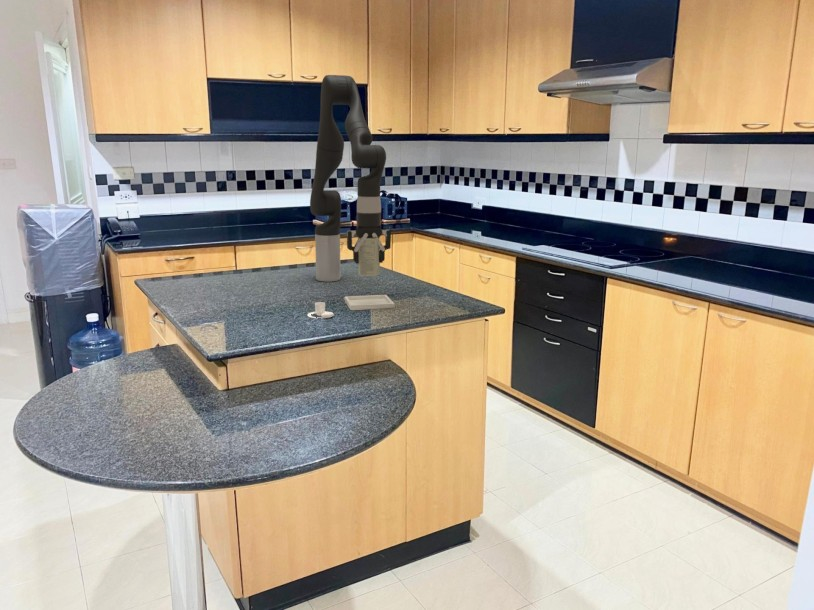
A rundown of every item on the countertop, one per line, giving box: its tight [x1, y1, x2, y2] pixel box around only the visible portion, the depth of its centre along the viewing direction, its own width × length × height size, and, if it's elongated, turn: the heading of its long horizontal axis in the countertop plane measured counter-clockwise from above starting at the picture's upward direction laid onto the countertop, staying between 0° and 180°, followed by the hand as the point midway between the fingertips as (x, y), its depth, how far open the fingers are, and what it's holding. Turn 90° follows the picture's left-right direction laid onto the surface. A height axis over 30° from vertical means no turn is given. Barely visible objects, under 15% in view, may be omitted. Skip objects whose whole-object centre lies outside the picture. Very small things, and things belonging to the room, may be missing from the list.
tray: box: [344, 294, 395, 311], centre depth 208 cm, size 12×14×2 cm
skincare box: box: [357, 237, 381, 277], centre depth 204 cm, size 6×4×12 cm
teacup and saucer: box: [307, 301, 335, 319], centre depth 194 cm, size 9×8×4 cm
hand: (368, 262), depth 204 cm, fingers closed on skincare box, 7 cm apart
